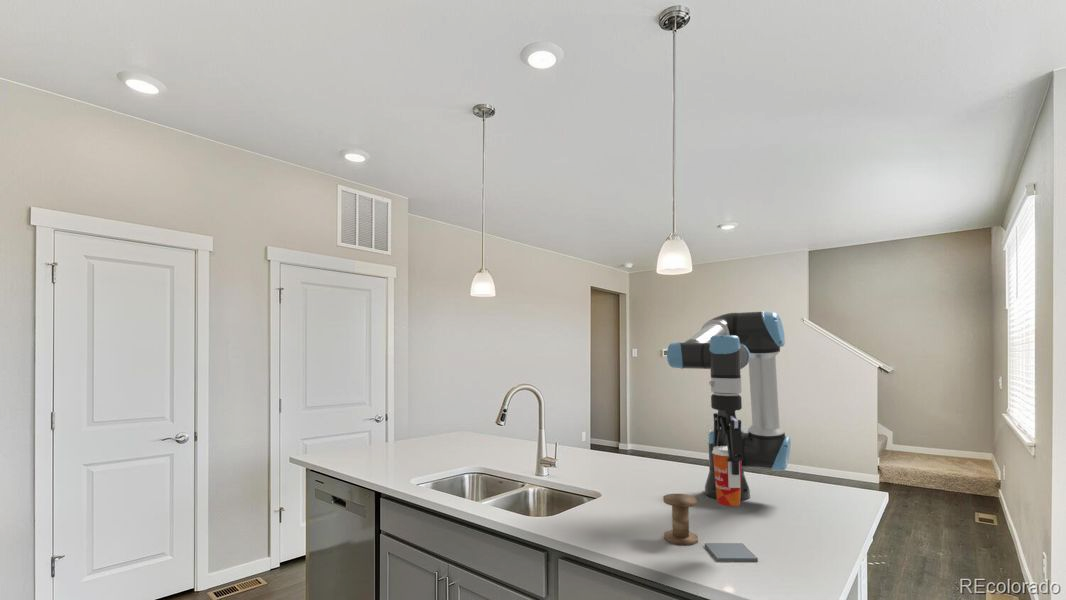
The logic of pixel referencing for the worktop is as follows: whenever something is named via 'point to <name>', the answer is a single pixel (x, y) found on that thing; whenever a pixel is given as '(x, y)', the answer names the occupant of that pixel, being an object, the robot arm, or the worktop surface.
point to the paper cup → (724, 478)
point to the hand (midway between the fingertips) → (728, 482)
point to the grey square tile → (731, 552)
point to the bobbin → (680, 519)
